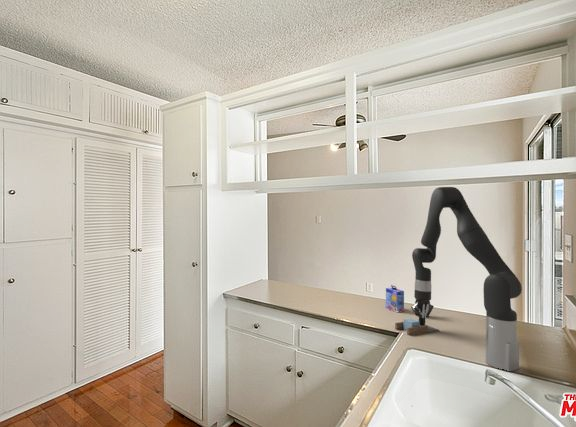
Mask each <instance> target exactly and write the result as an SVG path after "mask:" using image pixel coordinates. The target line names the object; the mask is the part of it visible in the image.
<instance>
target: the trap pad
mask: <svg viewBox="0 0 576 427" xmlns="http://www.w3.org/2000/svg"><path fill="white" fill-rule="evenodd" d="M426 325H427V324H426ZM420 326H421V325H420ZM427 326H428V332H427V333H435V332H436V333H437V331H438V332H440V331H441V330H440V329H438V328H435V327H433V326H430V325H427Z"/></svg>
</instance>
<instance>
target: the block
mask: <svg viewBox="0 0 576 427" xmlns="http://www.w3.org/2000/svg"><path fill="white" fill-rule="evenodd" d="M403 322H404V326H403V329H402V330H404V331H405V332H407V328H410V327H417V326H420V321H419V320H417V319H415V318H412V317H411V318H405V319H403Z"/></svg>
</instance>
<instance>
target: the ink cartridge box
mask: <svg viewBox="0 0 576 427" xmlns="http://www.w3.org/2000/svg"><path fill="white" fill-rule="evenodd" d="M387 308H389V309H392V310H395V311H404V312H405V291H404V290H402V289H398V288H397V287H396V285H392V284H391V285H390V287H386V288H385V309H387ZM389 309H388V310H389ZM392 310H391V311H392ZM395 311H394V312H395Z"/></svg>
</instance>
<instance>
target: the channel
mask: <svg viewBox="0 0 576 427" xmlns="http://www.w3.org/2000/svg"><path fill="white" fill-rule="evenodd" d="M394 324H395V326H394V328H395V330H396V331H397V330H403V326H404V321H399V322H395V323H394ZM428 326H429V325H428ZM428 326H427V324H425V325H424V326H417V327H410V328H407V331H406V332H407V333H406V335H407V336H414V335H419V334H425V333H429V332H428Z"/></svg>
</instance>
